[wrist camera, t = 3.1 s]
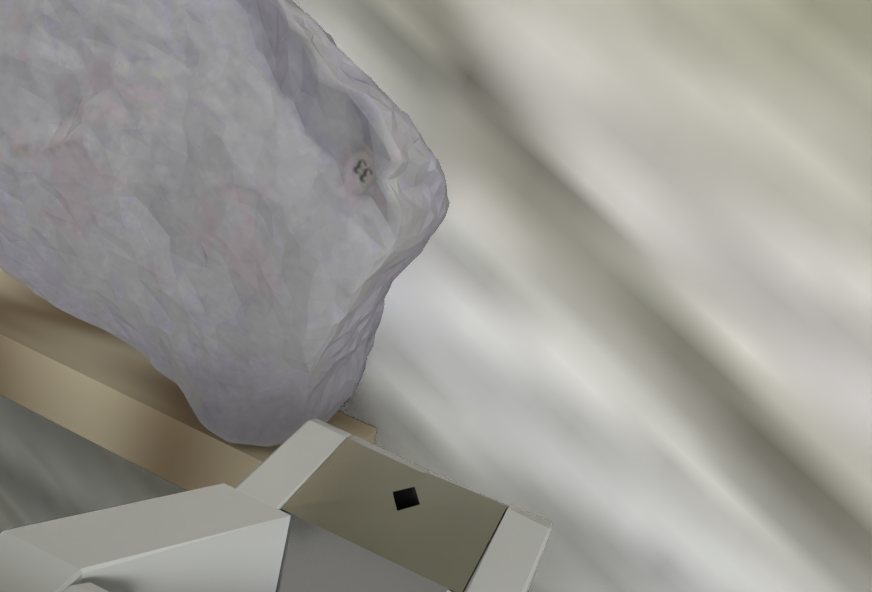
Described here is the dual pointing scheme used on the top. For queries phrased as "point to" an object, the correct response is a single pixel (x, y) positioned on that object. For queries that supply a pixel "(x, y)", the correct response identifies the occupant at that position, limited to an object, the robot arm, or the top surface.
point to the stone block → (210, 195)
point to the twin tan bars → (116, 395)
